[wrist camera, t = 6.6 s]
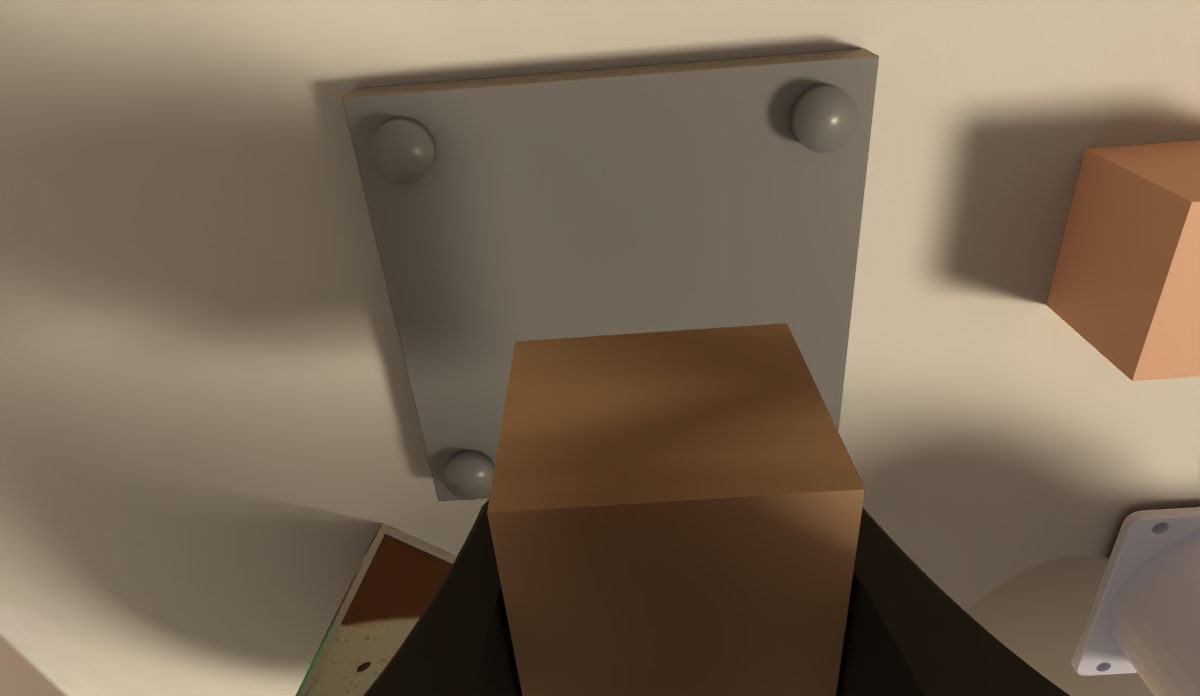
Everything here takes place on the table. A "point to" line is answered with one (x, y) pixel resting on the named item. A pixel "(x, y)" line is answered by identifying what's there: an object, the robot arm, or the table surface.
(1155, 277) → the terracotta block
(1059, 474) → the table surface
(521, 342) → the walnut brick
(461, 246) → the base plate
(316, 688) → the food container
